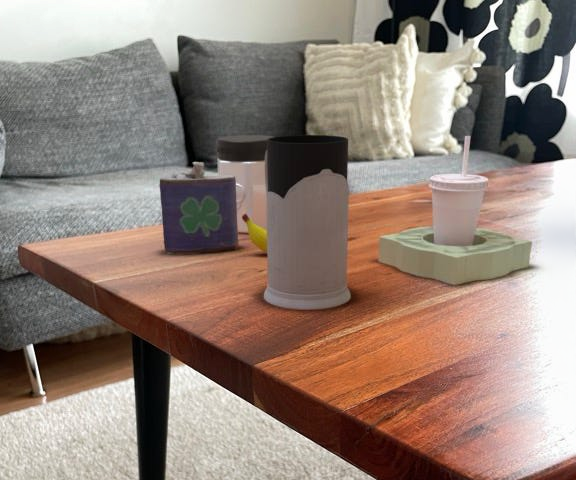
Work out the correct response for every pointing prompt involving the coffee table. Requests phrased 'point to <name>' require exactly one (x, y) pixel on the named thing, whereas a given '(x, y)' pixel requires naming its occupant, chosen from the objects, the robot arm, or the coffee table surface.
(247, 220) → the fruit
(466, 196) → the smoothie
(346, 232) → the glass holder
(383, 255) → the ashtray
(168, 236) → the flask
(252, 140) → the jar
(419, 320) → the coffee table surface
